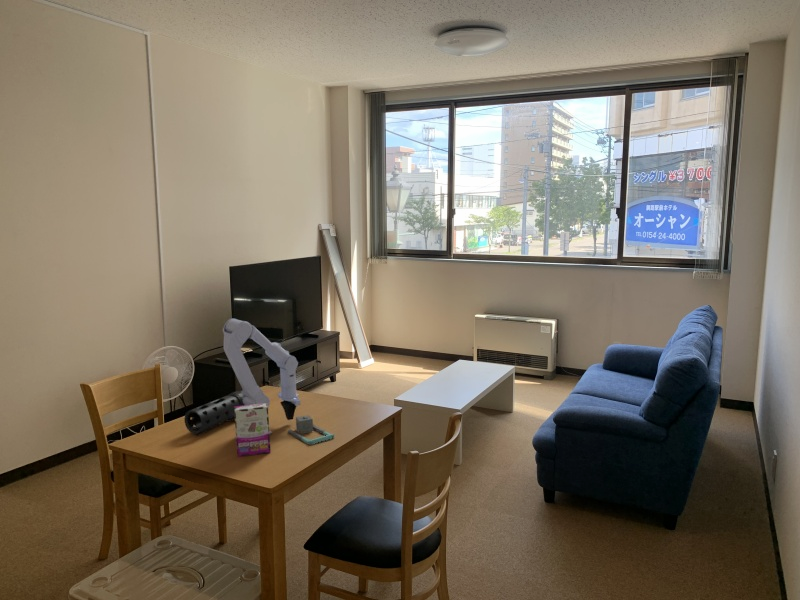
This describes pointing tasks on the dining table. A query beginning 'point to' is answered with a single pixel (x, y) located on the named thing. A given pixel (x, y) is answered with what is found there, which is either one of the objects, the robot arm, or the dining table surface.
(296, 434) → the guide lane
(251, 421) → the candy bar box
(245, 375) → the robot arm
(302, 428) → the dice cube
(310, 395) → the dining table surface
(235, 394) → the muzzle brake
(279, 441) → the dining table surface
